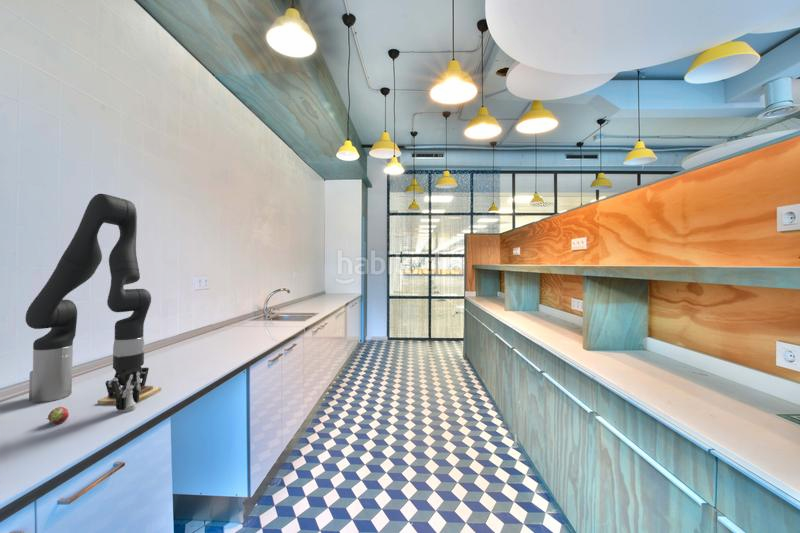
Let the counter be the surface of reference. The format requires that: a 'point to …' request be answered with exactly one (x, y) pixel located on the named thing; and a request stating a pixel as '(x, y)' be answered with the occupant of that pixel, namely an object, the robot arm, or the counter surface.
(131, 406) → the rook chess piece
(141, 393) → the display stand
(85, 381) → the counter surface
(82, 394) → the counter surface
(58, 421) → the fruit
